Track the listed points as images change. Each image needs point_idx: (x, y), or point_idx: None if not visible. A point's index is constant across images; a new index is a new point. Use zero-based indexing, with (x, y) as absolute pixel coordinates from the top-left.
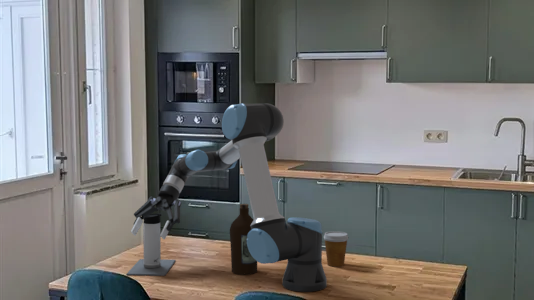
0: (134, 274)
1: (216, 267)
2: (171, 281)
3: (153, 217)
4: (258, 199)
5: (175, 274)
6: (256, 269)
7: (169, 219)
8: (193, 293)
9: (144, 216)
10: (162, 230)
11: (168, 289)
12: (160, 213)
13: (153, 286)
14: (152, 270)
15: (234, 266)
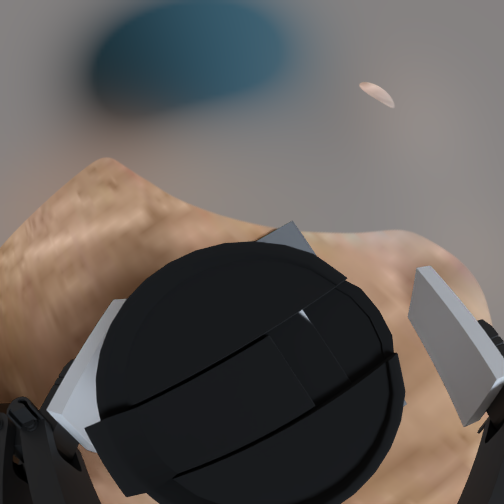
0: (265, 237)
1: (93, 459)
2: (113, 259)
3: (134, 300)
4: None
5: None
6: None
7: (26, 400)
8: (40, 217)
9: (386, 337)
10: (106, 326)
11: (91, 201)
12: (125, 488)
13: (134, 193)
14: None
15: None
